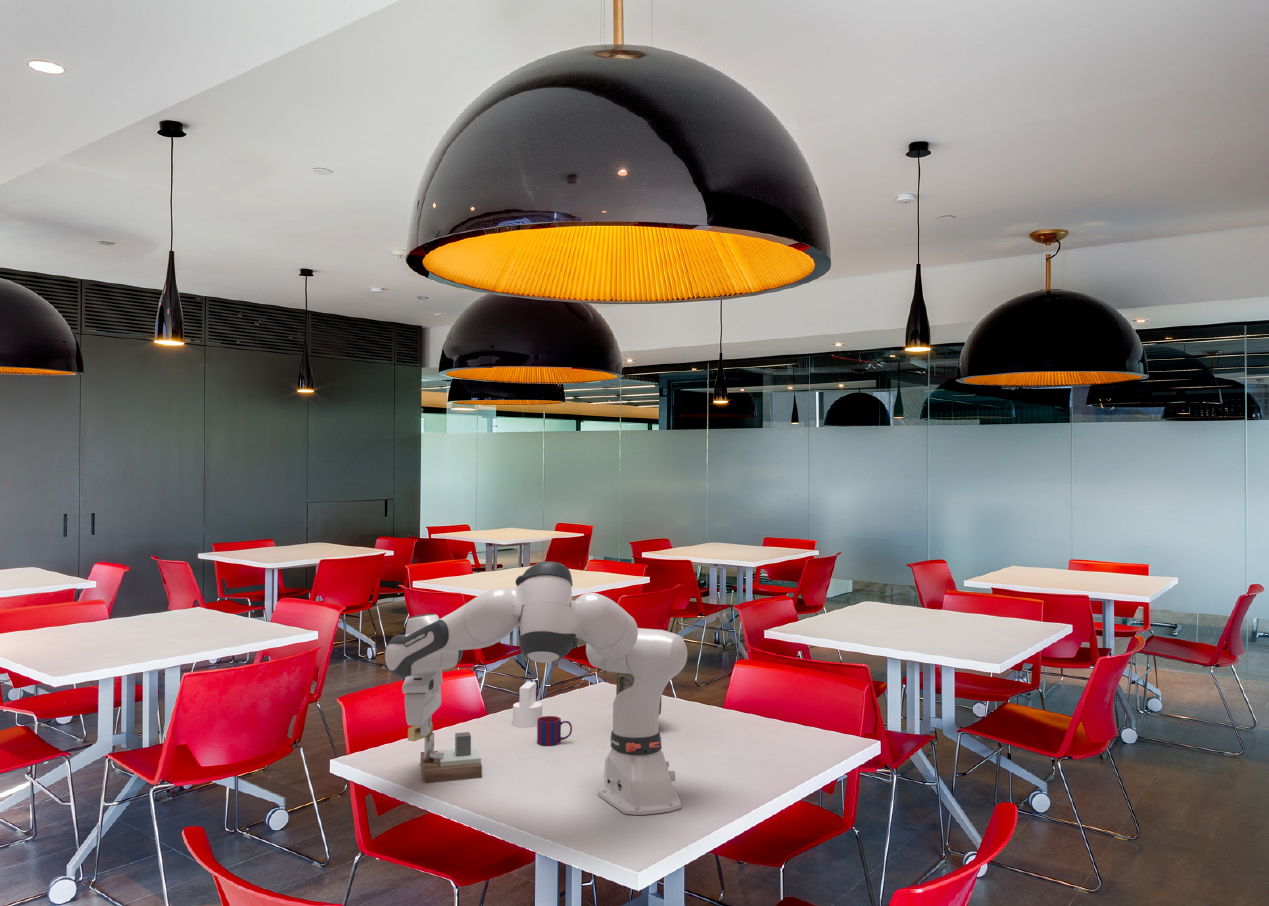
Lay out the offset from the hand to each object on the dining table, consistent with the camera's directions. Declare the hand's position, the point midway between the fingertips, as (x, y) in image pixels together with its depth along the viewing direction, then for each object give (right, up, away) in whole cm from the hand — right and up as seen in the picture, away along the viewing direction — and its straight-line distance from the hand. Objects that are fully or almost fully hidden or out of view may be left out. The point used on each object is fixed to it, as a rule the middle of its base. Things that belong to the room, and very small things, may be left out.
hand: (425, 734), depth 212 cm
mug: (+29, -13, +32) cm, 45 cm away
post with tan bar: (0, -8, +1) cm, 8 cm away
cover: (+7, -9, +7) cm, 13 cm away
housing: (+5, -12, +7) cm, 14 cm away
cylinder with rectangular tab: (+19, -14, +52) cm, 57 cm away
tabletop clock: (+54, -14, +47) cm, 73 cm away
